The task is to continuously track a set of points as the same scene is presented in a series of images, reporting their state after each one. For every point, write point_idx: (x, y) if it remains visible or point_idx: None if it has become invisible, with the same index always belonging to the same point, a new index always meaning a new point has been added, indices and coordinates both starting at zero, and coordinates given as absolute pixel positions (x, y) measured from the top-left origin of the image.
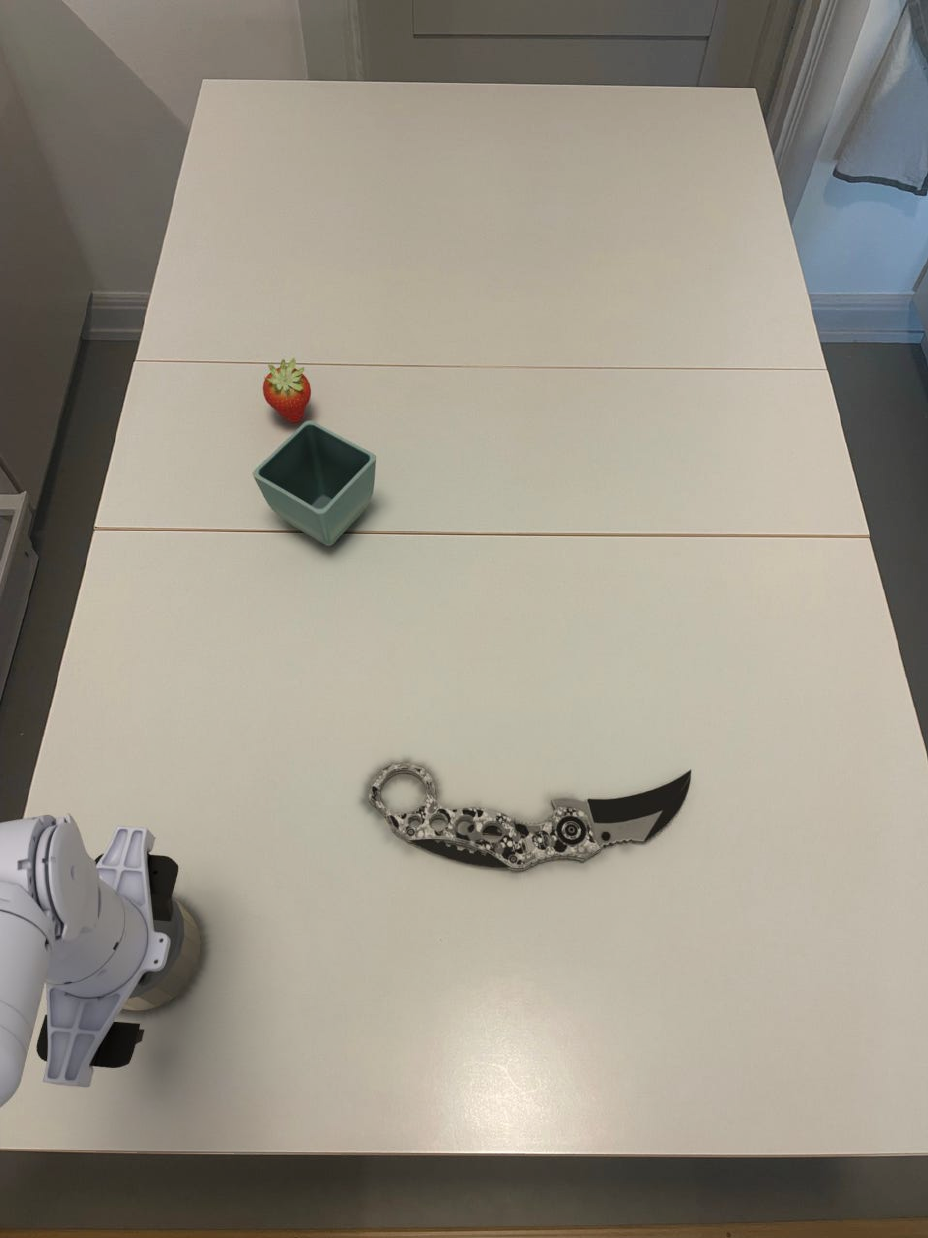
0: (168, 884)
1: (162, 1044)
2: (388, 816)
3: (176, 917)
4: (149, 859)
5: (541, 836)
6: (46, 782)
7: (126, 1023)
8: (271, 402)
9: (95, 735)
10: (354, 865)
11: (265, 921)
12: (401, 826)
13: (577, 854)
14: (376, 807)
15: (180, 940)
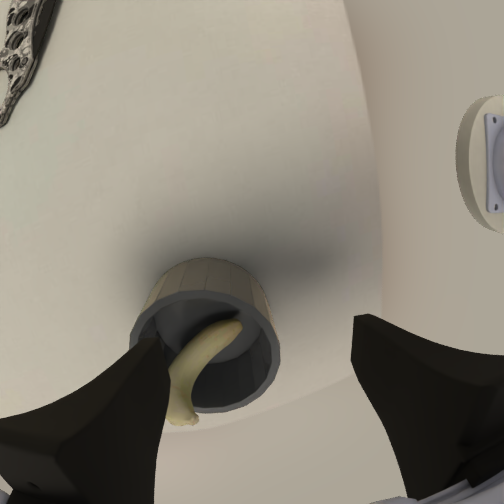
0: (31, 463)
1: (297, 267)
2: (11, 92)
3: (157, 309)
4: (20, 492)
5: None
6: None
7: (473, 417)
8: None
9: None
10: (65, 111)
11: (141, 193)
12: (19, 73)
13: None
14: (7, 112)
15: (186, 294)
